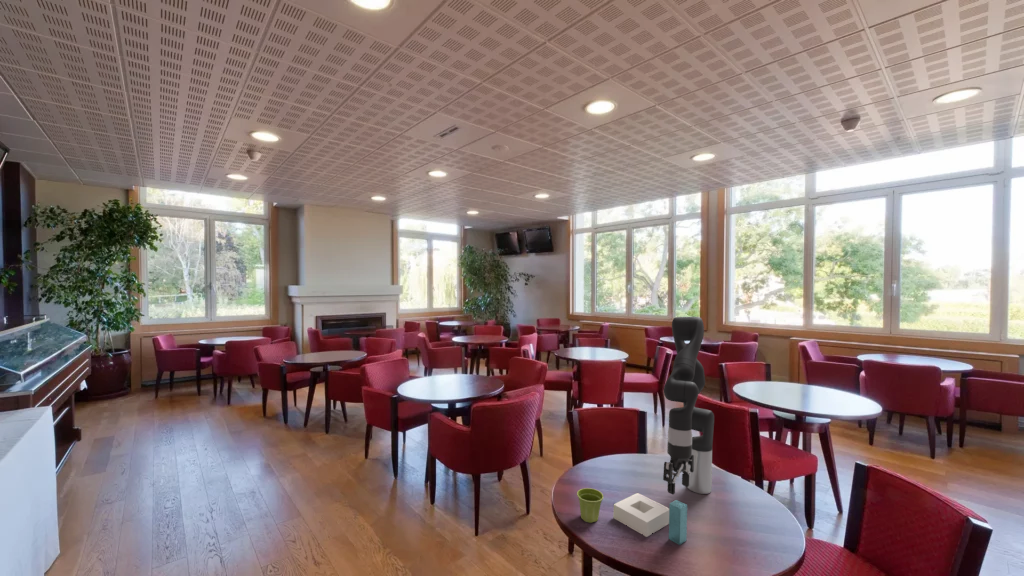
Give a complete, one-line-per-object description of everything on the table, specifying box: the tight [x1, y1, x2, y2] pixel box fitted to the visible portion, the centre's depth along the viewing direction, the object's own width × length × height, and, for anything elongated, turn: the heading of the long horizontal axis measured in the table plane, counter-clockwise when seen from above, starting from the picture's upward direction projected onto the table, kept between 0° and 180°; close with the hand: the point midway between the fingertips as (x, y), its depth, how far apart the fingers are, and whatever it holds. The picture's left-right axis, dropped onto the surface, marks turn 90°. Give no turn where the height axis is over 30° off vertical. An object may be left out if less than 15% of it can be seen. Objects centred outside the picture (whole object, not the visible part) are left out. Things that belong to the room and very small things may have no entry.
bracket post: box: [668, 499, 688, 546], centre depth 141 cm, size 4×4×12 cm
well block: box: [612, 492, 669, 538], centre depth 152 cm, size 14×14×5 cm
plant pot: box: [576, 487, 604, 524], centre depth 153 cm, size 9×9×9 cm
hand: (678, 489), depth 141 cm, fingers open, 8 cm apart
